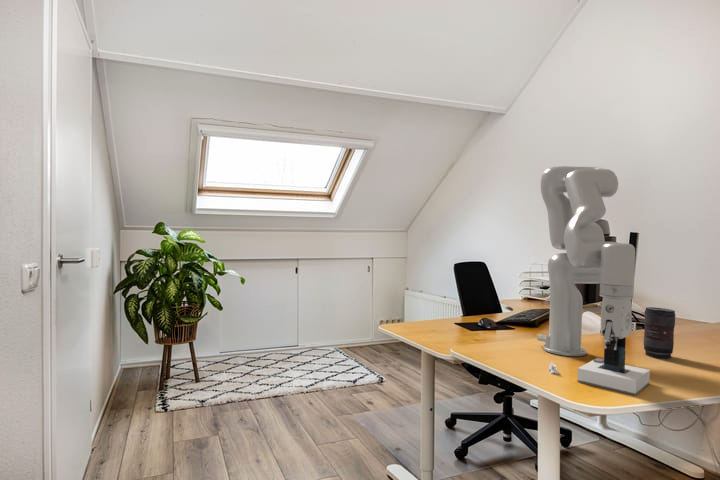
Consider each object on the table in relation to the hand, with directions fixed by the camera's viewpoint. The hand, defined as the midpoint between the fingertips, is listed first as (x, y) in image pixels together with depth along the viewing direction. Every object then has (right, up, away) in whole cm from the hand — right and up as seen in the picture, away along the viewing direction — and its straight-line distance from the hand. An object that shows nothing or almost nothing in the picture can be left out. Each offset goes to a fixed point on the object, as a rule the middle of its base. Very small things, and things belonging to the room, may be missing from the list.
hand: (613, 362), depth 116 cm
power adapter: (-11, -5, +7) cm, 14 cm away
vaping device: (0, -4, 0) cm, 4 cm away
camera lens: (+29, -6, +27) cm, 40 cm away
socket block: (0, -5, 0) cm, 5 cm away
